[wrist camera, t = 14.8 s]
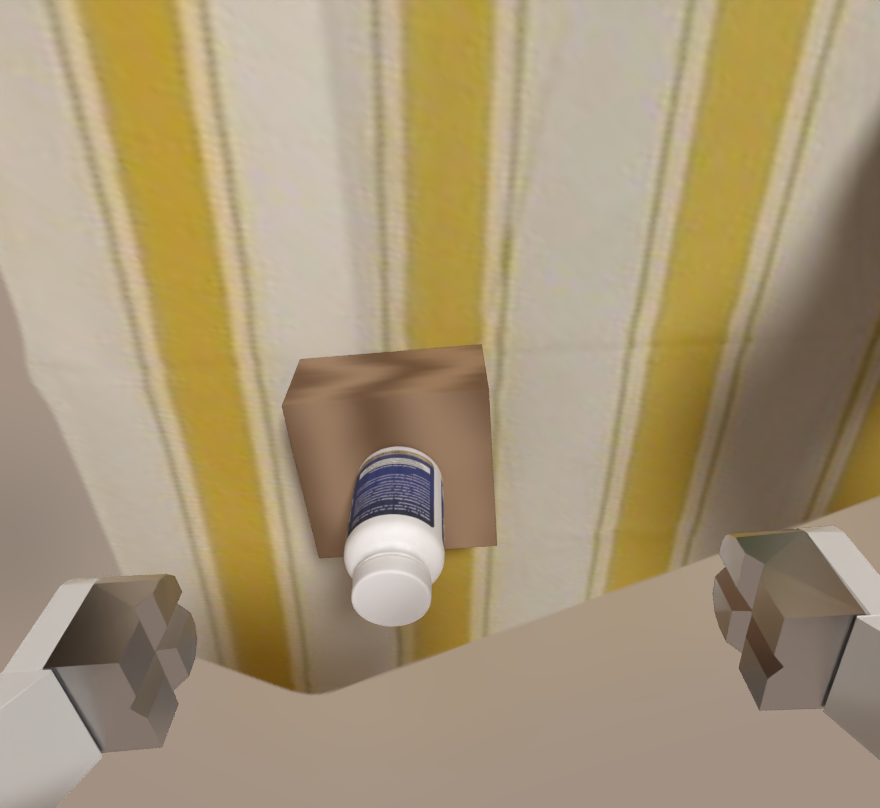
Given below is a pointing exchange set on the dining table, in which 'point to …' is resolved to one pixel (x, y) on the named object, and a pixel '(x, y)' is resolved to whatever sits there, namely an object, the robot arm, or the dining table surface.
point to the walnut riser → (394, 434)
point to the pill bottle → (395, 536)
